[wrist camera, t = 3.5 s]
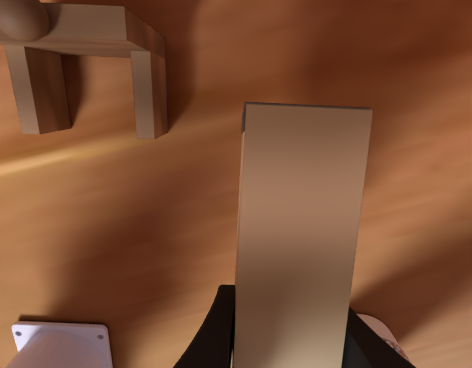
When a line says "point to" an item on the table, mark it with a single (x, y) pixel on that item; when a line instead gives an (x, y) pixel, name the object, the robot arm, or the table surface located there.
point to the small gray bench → (83, 44)
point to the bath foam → (383, 333)
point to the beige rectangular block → (297, 232)
